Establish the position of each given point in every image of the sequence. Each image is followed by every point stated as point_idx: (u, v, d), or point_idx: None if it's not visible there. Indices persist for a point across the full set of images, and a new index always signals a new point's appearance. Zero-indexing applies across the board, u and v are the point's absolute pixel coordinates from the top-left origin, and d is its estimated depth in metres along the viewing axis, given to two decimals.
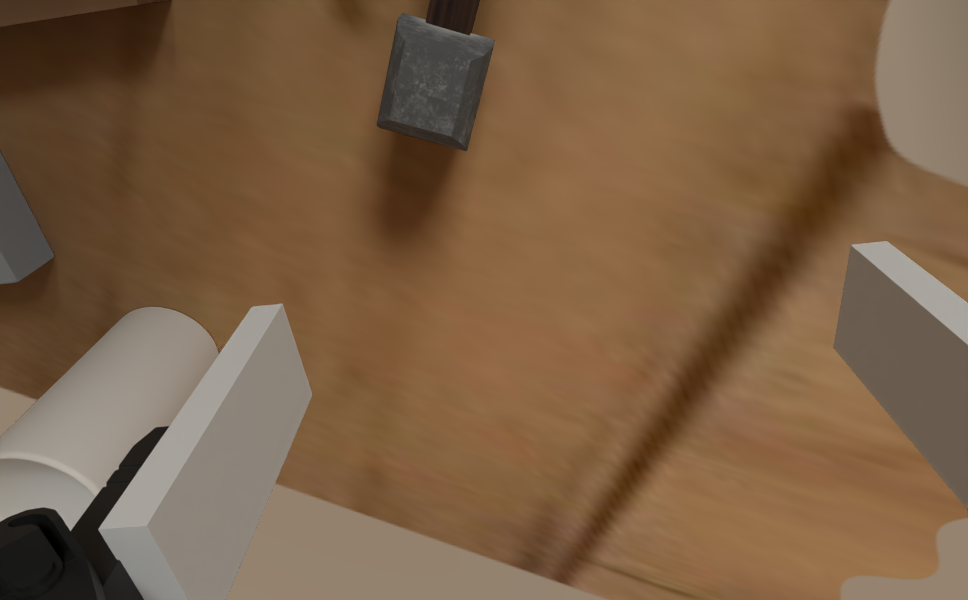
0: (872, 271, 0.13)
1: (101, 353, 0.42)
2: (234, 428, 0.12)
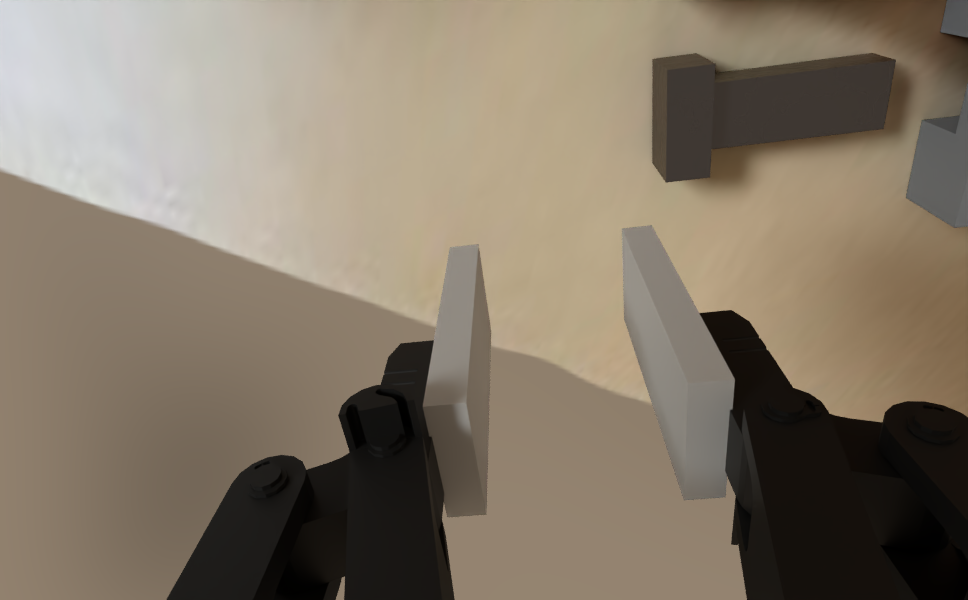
0: (628, 250, 0.15)
1: None
2: (477, 342, 0.13)
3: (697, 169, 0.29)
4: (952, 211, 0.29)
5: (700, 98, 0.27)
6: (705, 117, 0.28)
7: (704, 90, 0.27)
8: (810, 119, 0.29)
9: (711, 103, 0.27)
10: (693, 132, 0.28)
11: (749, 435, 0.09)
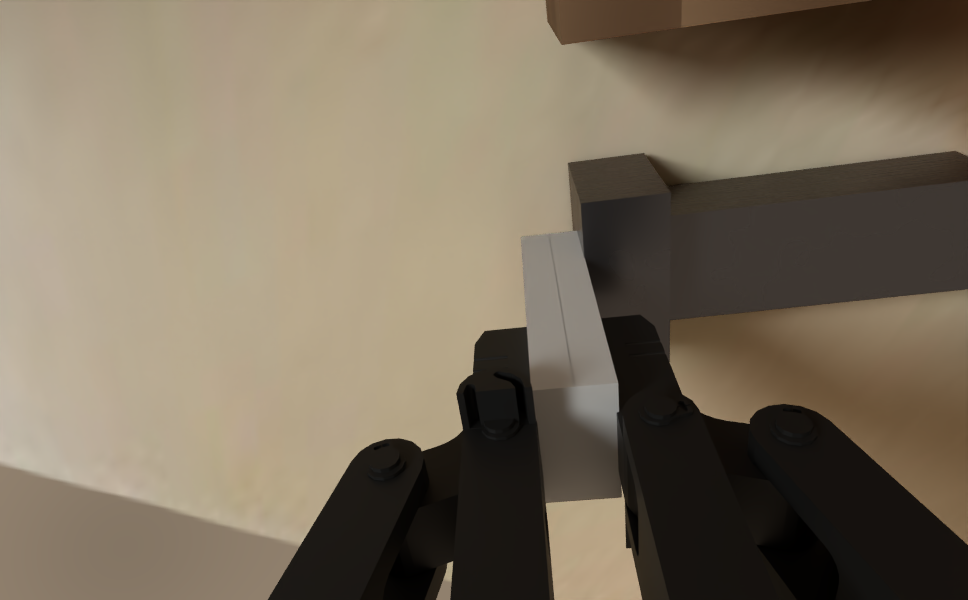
0: (551, 255, 0.16)
1: None
2: None
3: None
4: None
5: (645, 250, 0.15)
6: (657, 281, 0.15)
7: (652, 237, 0.14)
8: (847, 273, 0.16)
9: (666, 258, 0.15)
10: (635, 306, 0.15)
11: (629, 442, 0.10)
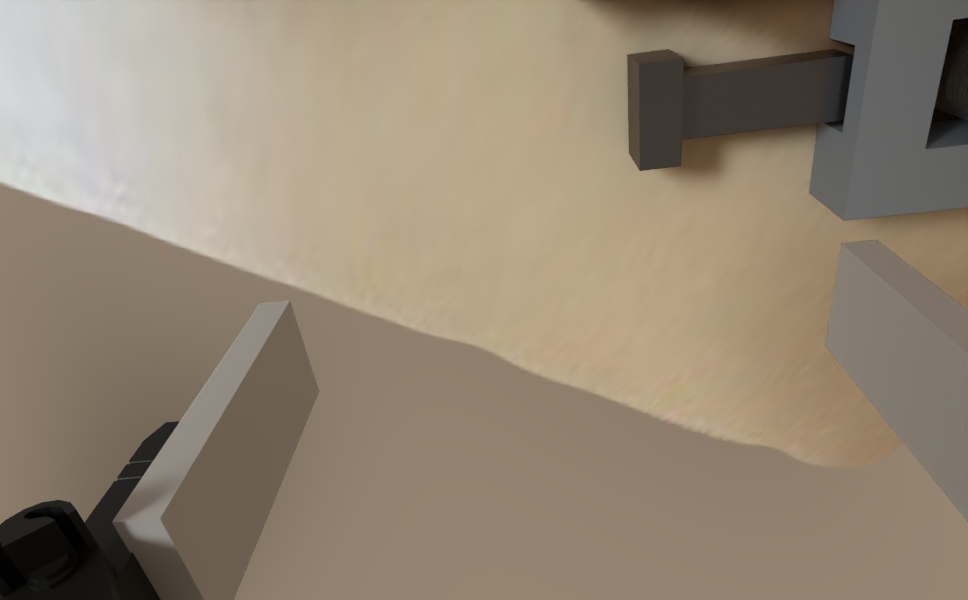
0: (861, 269, 0.13)
1: None
2: (244, 423, 0.12)
3: (669, 158, 0.31)
4: (842, 205, 0.31)
5: (670, 91, 0.29)
6: (676, 109, 0.29)
7: (674, 83, 0.29)
8: (775, 111, 0.30)
9: (680, 96, 0.29)
10: (664, 123, 0.30)
11: None
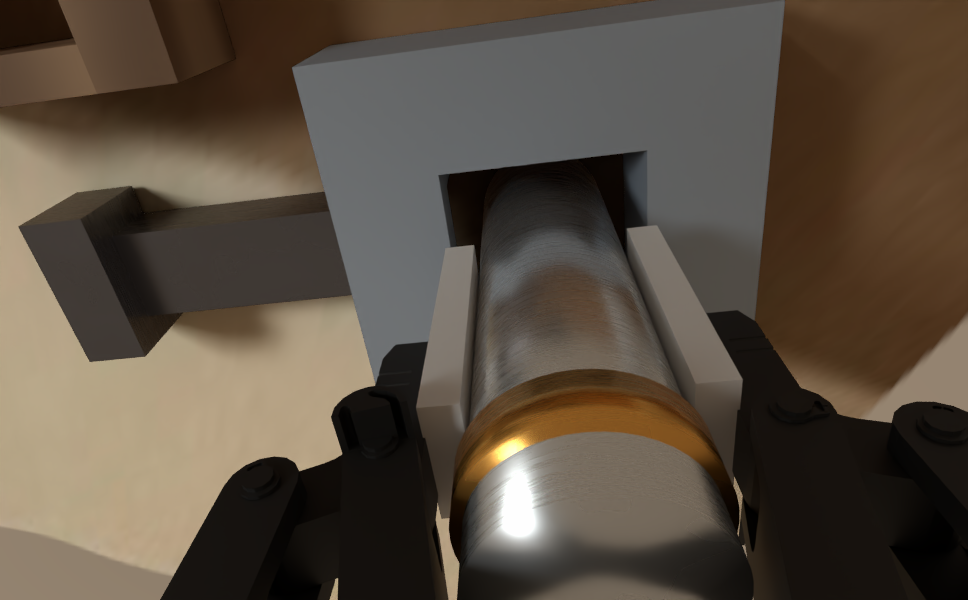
0: (634, 250, 0.15)
1: None
2: (471, 343, 0.13)
3: (123, 347, 0.21)
4: None
5: (82, 262, 0.20)
6: (102, 285, 0.20)
7: (82, 252, 0.19)
8: (272, 280, 0.21)
9: (100, 268, 0.20)
10: (94, 303, 0.20)
11: (757, 435, 0.09)
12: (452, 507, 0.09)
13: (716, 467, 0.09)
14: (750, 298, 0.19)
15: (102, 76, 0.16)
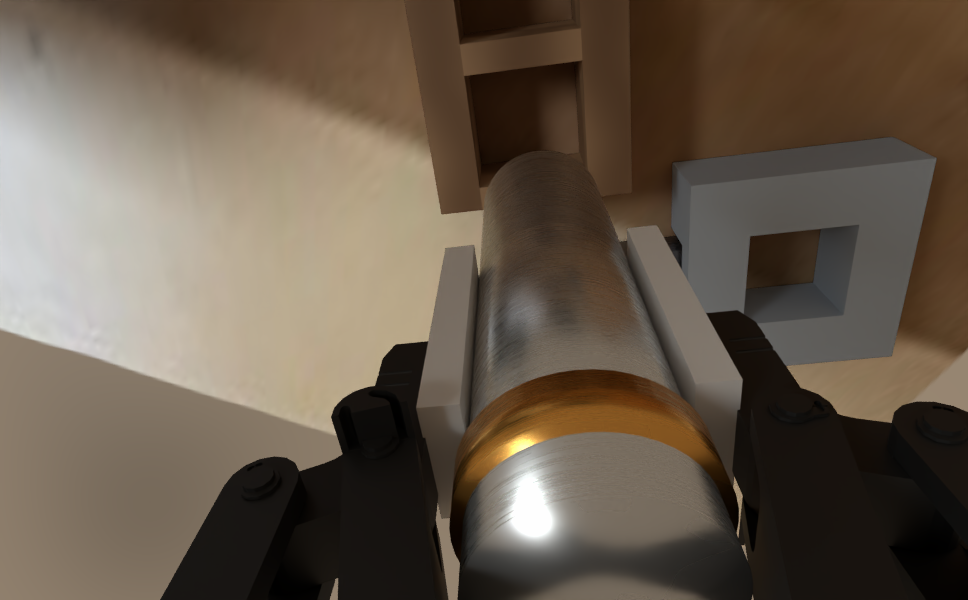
0: (634, 250, 0.15)
1: None
2: (471, 343, 0.13)
3: None
4: None
5: None
6: None
7: None
8: None
9: None
10: None
11: (756, 435, 0.09)
12: (452, 507, 0.09)
13: (715, 467, 0.09)
14: (901, 299, 0.35)
15: None
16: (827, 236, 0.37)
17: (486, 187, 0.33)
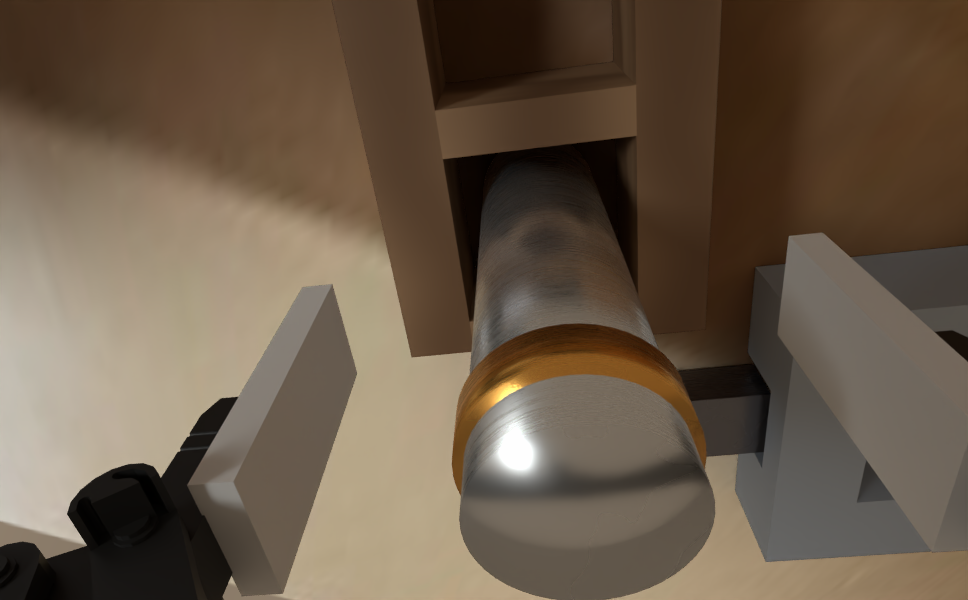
0: (805, 261, 0.14)
1: None
2: (297, 398, 0.13)
3: None
4: (763, 543, 0.27)
5: None
6: None
7: None
8: None
9: None
10: None
11: None
12: (455, 444, 0.11)
13: (685, 406, 0.10)
14: None
15: None
16: None
17: None
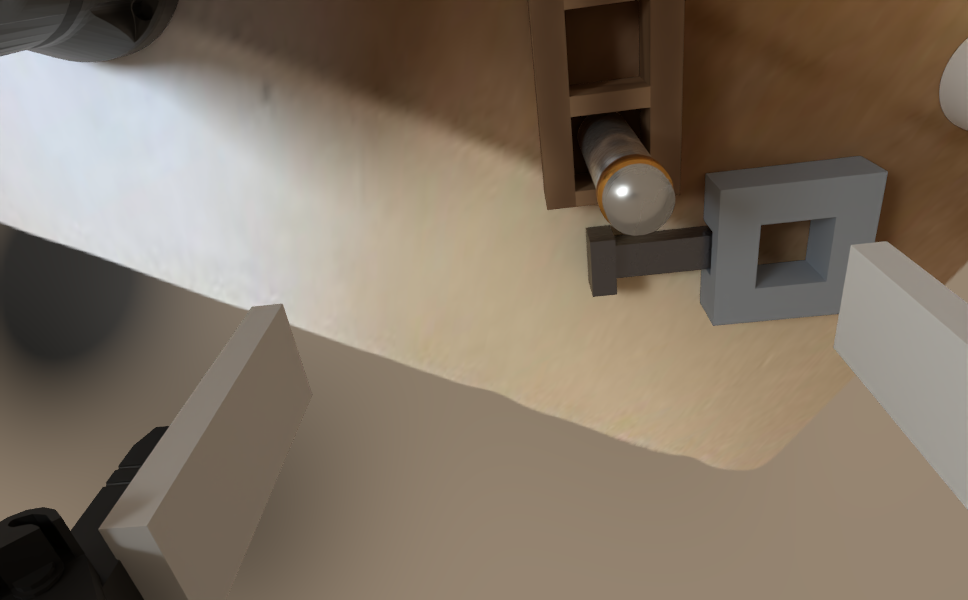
0: (872, 271, 0.13)
1: None
2: (234, 428, 0.12)
3: (609, 290, 0.52)
4: (712, 316, 0.53)
5: (608, 256, 0.51)
6: (612, 265, 0.51)
7: (610, 252, 0.51)
8: (671, 263, 0.52)
9: (614, 258, 0.51)
10: (606, 272, 0.52)
11: None
12: (600, 188, 0.37)
13: (667, 174, 0.37)
14: None
15: None
16: (815, 226, 0.52)
17: (580, 191, 0.47)
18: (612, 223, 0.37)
